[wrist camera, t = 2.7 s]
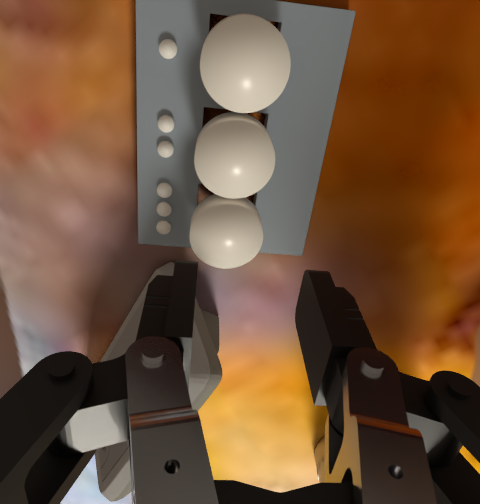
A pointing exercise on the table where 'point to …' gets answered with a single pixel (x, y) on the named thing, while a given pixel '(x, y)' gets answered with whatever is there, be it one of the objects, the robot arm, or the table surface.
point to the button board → (196, 98)
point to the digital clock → (200, 384)
